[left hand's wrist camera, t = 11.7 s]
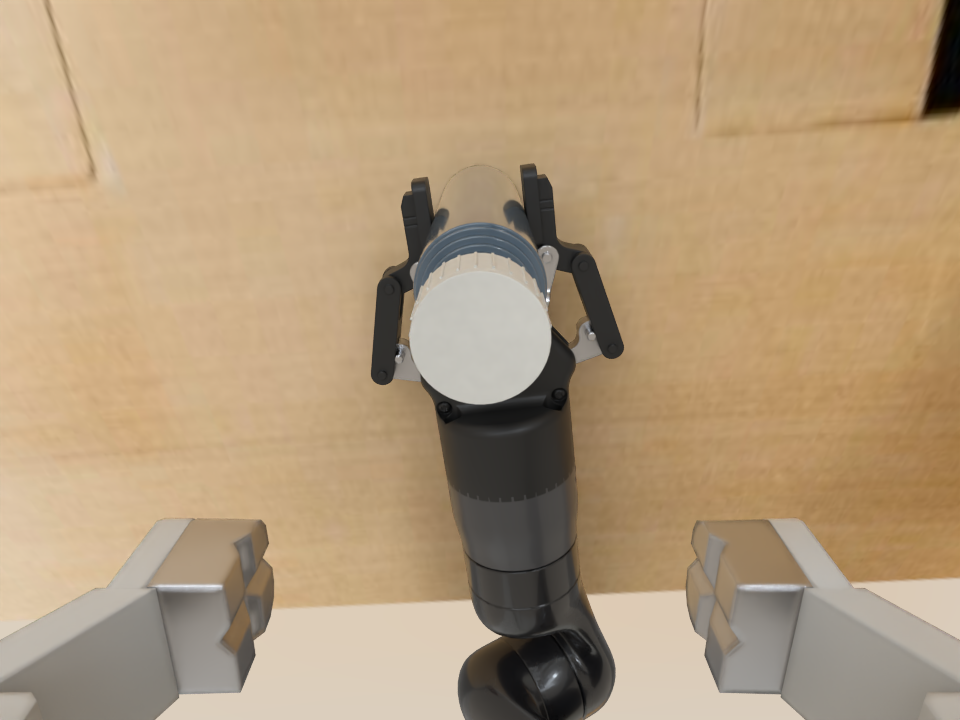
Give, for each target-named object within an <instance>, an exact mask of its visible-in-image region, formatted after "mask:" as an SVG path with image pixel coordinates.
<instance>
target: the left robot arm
mask: <svg viewBox="0 0 960 720" xmlns="http://www.w3.org/2000/svg"><path fill="white" fill-rule="evenodd" d="M268 544H269V541H268V535H267V530H266V525H265V524H264V523H263V521H262V520H250V519H202V518H197V519H193V518H164V519H162V520H159V521H157V522H156V523H155V524H154V525H153V527H152V528H151V529H150V531H149V532H148V533H147V535H146V536H145V537H144V539H143V540H142V541H141V543H140V544H139V545H138V546H137V548H136V549H135V550H134V552H133V553H132V554H131V556H130V557H129V558H128V560H127V561H126V562H125V564H124V565H123V566H122V568H121V569H120V570H119V572H118V573H117V574H116V576H115V577H114V578H113V580H112V581H111V582H110V584H109V585H108V586H107V587H106V588H95V589H93V590H91V591H89V592H87V593H86V594H84V595H82V596H80V597H78V598H76V599H75V600H73V601H71V602H69V603H67V604H65V605H64V606H62V607H60V608H58V609H56V610H54V611H53V612H51V613H49V614H47V615H45V616H43V617H42V618H40V619H38V620H36V621H34V622H32V623H30V624H29V625H27V626H25V627H23V628H21V629H20V630H18V631H16V632H14V633H12V634H10V635H9V636H7V637H5V638H3V639H1V640H0V720H155V719H156V718H157V717H158V716H160V715H161V714H162V713H163V712H164V711H165V710H166V709H167V708H168V707H169V706H170V705H172V704H173V703H174V702H175V701H176V700H177V699H178V698H179V694H203V693H238V692H241V690H242V688H243V685H244V683H245V680H246V678H247V675H248V673H249V670H250V668H251V665H252V663H253V660H254V658H255V649H254V641H253V640H255V639H256V638H257V637H259V636H260V635H261V634H263V633H264V632H265V630H266V627H267V625H268V622H269V619H270V616H271V611H272V605H273V599H274V578H273V570H272V567H271V566H270V565H269V564H268V563H267V562H266V561H265V560H264V559H263V555H264V553H265V551H266V549H267V547H268ZM691 544H692V547H693V549H694V551H695V553H696V555H697V559H696V560H695V561H694V562H693V563H692V564H691V565H690V566H689V567H688V570H687V580H686V597H687V607H688V611H689V615H690V619H691V622H692V625H693V627H694V630H695V632H696V633H697V634H699V635H700V636H701V637H703V638H704V639H705V640H707V642H706V648H705V658H706V660H707V663H708V665H709V668H710V670H711V673H712V675H713V678H714V680H715V682H716V685H717V687H718V690H719V692H720V693H755V694H781V698H782V699H783V700H784V701H786V702H787V703H788V704H789V705H790V706H791V707H792V708H793V709H794V710H795V711H796V712H798V713H799V714H800V715H801V716H802V717H803V718H804V719H805V720H960V640H959V639H957V638H955V637H953V636H951V635H949V634H948V633H946V632H944V631H942V630H940V629H938V628H937V627H935V626H933V625H931V624H929V623H927V622H926V621H924V620H922V619H920V618H918V617H916V616H915V615H913V614H911V613H909V612H907V611H905V610H904V609H902V608H900V607H898V606H896V605H894V604H893V603H891V602H889V601H887V600H885V599H883V598H882V597H880V596H878V595H876V594H874V593H872V592H870V591H869V590H867V589H865V588H853V586H852V585H851V584H850V582H849V581H848V580H847V578H846V577H845V576H844V574H843V573H842V572H841V570H840V569H839V568H838V566H837V565H836V564H835V563H834V561H833V560H832V559H831V557H830V556H829V555H828V553H827V552H826V551H825V549H824V548H823V547H822V545H821V544H820V543H819V541H818V540H817V539H816V538H815V536H814V535H813V534H812V532H811V531H810V530H809V528H808V527H807V526H806V524H805V523H804V522H803V521H801V520H800V519H798V518H775V519H763V520H703V521H696V524H695V526H694V529H693V534H692V541H691Z"/></svg>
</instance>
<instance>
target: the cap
mask: <svg viewBox="0 0 960 720" xmlns="http://www.w3.org/2000/svg"><path fill="white" fill-rule="evenodd" d="M410 320H412V322H411V326H410V332H409V339H410V349H411V354H412V357H413V360H414V363H415V365H416V367H417V369H418V370H419V372H420V373H421V375H422V376H423V378H424V379H425V380H426V381H427V382H428V383H429V384H430V385H431V386H432V387H433V388H434V389H436V390H437V391H439V392H440V393H441V394H443V395H445V396H447V397H449V398H451V399H454V400H456V401H460V402H464V403H468V404H492V403H497V402H501V401H504V400H507V399H510V398H512V397H514V396H516V395H518V394H519V393H521V392H522V391H524V390H525V389H526V388H528V387H529V386H530V385H531V384H532V383H533V382H534V381H535V380H536V378H537V377H538V376H539V375H540V373H541V372H542V370H543V368H544V366H545V364H546V362H547V359H548V356H549V353H550V348H551V328H552V325H551V321H550V318H549V315H548V308H547V305H546V302H545V298H544V295H543V292H541V293H540V290H539V288H538V286H537V282H536V279H535V278H532V277H531V276H530V275H529V274H528V273H527V272H526V271H525V268H524V267H523V266H522V267H521V266H519V265H518V264H517V263H515V262H513V261H511V259H510V258H508V259H507V258H505V257H502V256H499V255H495V254H494V253H491V254H489V253H477V252H474V253H472V254H466V255H462V256H460V255H458V256H457V257H456V258H454V259H451V260H449V261H448V262H446V263H445V262H443V263H442V265H441V266H440V267H439V268H437V269H436V270H435V271H434V272H433V273H432V272H431V273H430V275H429V278H428V279H427V281H426V282H425V284H424V286H421V287H420V291H419V294H418V297H417V301H415V304H414V307H413V311H412V314H411V317H410Z"/></svg>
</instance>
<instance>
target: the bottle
mask: <svg viewBox="0 0 960 720" xmlns="http://www.w3.org/2000/svg"><path fill="white" fill-rule="evenodd" d="M474 252H477V253H489V254H491V253H494V254H495V255H499V256H502V257H505V258H507V259H508V258H510V259H511V261H513V262H515V263H517V264H518V265H519V266H521V267H522V266H523V267H524V268H525V271H526V272H527V273H528V274H529V275H530V276H531V277H532V278H535V279H536V282H537V286H538V288H539V290H540V293H541V292H543V295H544V298H545V302H546V298H547V287H548V285H547V276H546V272H545V268H544V265H543V262H542V259H541V256H540V254H539V251H538V248H537V245H536V242H535V239H534V237H533V234H532V231H531V228H530V225H529V222H528V220H527V217H526V214H525V211H524V208H523V205H522V203H521V200H520V197H519V194H518V191H517V189H516V187H515V185H514V183H513V182H512V181H511V179H510V178H509V177H508V176H507V175H506V174H504V173H503V172H502V171H500V170H498V169H496V168H494V167H490V166H485V165H476V166H471V167H467V168H465V169H463V170H461V171H459V172H458V173H456V174H455V175H454V176H453V177H452V178H451V179H450V180H449V182H448V183H447V185H446V187H445V188H444V191H443V194H442V196H441V199H440V202H439V205H438V208H437V211H436V213H435V216H434V219H433V222H432V225H431V228H430V230H429V233H428V236H427V239H426V242H425V244H424V247H423V250H422V253H421V256H420V259H419V261H418V264H417V267H416V271H415V275H414V282H413V292H414V299H415V301H417V297H418V294H419V291H420V287H421V286H424V284H425V282H426V281H427V279H428V278H429V275H430V273H431V272H432V273H433V272H434V271H435V270H436V269H437V268H439V267H440V266H441V265H442V263H443V262H445V263H446V262H448V261H449V260H451V259H454V258H456V257H457V256H458V255H460V256H462V255H466V254H472V253H474Z"/></svg>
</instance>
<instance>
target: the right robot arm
mask: <svg viewBox="0 0 960 720" xmlns="http://www.w3.org/2000/svg"><path fill="white" fill-rule="evenodd" d="M520 171H521V181H522V191H523V201H524V211H525V214H526V217H527V220H528V222H529V225H530V228H531V231H532V234H533V237H534V239H535V242H536V245H537V248H538V251H539V254H540V256H541V259H542V262H543V265H544V268H545V272H546V276H547V285H548V287H547V298H546V305H547V308H548V305H549V301H550V292H551V287H552V283H553V280H554V276H555V272H556V270H560V271H565V272H569V273H572V275H573V278H574V281H575V284H576V286H577V289H578V292H579V295H580V298H581V300H582V303H583V306H584V309H585V312H586V314H587V316H585V317H582V318H581V319H580V320H579V321H578V322H577V325H576V329H577V336H576V338H575V339H574V340H573V341H572V342H571V343H568V342H567V341H566V340H565V339H564V338H563V337H562V336H561V335H560V333H559V332H558V331H557V330H556V329H555V328H554V327H553V326H552V328H551V348H550V353H549V356H548V359H547V362H546V364H545V366H544V368H543V370H542V372H541V373H540V375H539V376H538V377H537V378H536V380H535V381H534V382H533V383H532V384H531V385H530V386H529V387H528V388H526V389H525V390H524V391H522V392H521V393H519V394H518V395H516V396H514V397H512V398H510V399H507V400H504V401H501V402H497V403H492V404H468V403H464V402H460V401H456V400H454V399H451V398H449V397H447V396H445V395H443V394H441V393H440V392H439V391H437V390H436V389H434V388H433V387H432V386H431V385H430V384H429V383H428V382H427V381H426V380H425V379H424V378H423V376H422V375H421V373H420V372H419V370H418V369H417V367H416V365H415V363H414V360H413V357H412V354H411V349H410V341H408V340H407V339H403V338H400V337H401V326H402V314H403V303H404V293H405V292H407V291H409V290H411V289H413V282H414V275H415V271H416V267H417V264H418V261H419V259H420V256H421V253H422V250H423V247H424V244H425V242H426V239H427V236H428V233H429V230H430V228H431V225H432V222H433V219H434V213H433V206H432V200H431V193H430V187H429V181H428V177H423V178H416V179H413V181H412V182H411V188H412V191H409V192H406V193H405V194H404V196H403V200H402V204H401V210H402V216H403V221H404V227H405V233H406V239H407V245H408V251H409V258H408V259H407V260H406V261H405V262H403V263H401V264H399V265H397V266H391V267H389V268H387V269H386V270H385V272H384V274H383V277H382V279H381V280H380V282H379V284H378V287H377V299H376V313H375V326H374V340H373V353H372V367H371V377H372V379H373V381H374V382H375V383H377V384H380V385H386V384H388V383H390V382H391V381H392V379H402V380H410V381H419V382H421V383H422V385H423V387H424V388H425V390H426V391H427V392H428V393H429V394H430V396H431V397H432V399H433V402H434V405H435V410H436V416H437V422H438V428H439V434H440V440H441V446H442V452H443V457H444V463H445V469H446V475H447V481H448V487H449V493H450V499H451V505H452V510H453V515H454V519H455V522H456V525H457V528H458V531H459V534H460V537H461V540H462V545H463V551H464V557H465V563H466V569H467V575H468V581H469V588H470V593H471V598H472V602H473V605H474V609H475V611H476V613H477V615H478V617H479V619H480V620H481V621H482V623H483V624H484V625H485V626H486V627H487V628H488V629H490V630H491V631H493V632H494V633H496V634H499V635H501V636H502V637H500V638H498V639H497V640H494V641H492V642H491V643H489V644H487V645H485V646H483V647H481V648H480V649H478V650H476V651H475V652H474V653H473V654H471V655H470V656H469V657H468V658H467V659H466V661H465V662H464V664H463V666H462V668H461V670H460V674H459V679H458V697H459V703H460V707H461V710H462V713H463V716H464V718H465V720H585V719H586V718H588V717H590V716H591V715H593V714H594V713H596V712H597V711H598V710H600V709H601V708H602V707H603V706H604V704H605V703H606V702H607V700H608V699H609V697H610V694H611V692H612V690H613V686H614V682H615V664H614V659H613V656H612V654H611V651H610V649H609V647H608V645H607V643H606V641H605V639H604V636H603V634H602V632H601V630H600V628H599V626H598V624H597V622H596V619H595V617H594V614H593V612H592V609H591V606H590V604H589V601H588V598H587V595H586V593H585V590H584V587H583V584H582V581H581V577H580V565H579V554H578V543H577V533H576V531H577V529H576V521H577V508H578V493H577V482H576V467H575V458H574V447H573V435H572V424H571V412H570V401H569V382H570V379H571V376H572V374H573V372H574V370H575V367H576V363H579V362H582V361H585V360H587V359H590V358H593V357H596V356H599V355H601V354H603V355H604V356H605V357H606V358H609V359H614V358H617V357H619V356H620V355H621V354H622V352H623V350H624V345H623V342H622V339H621V336H620V333H619V330H618V327H617V324H616V321H615V318H614V315H613V312H612V310H611V307H610V304H609V301H608V298H607V295H606V292H605V289H604V286H603V283H602V280H601V277H600V275H599V272H598V269H597V266H596V263H595V260H594V259H593V257H592V255H591V254H590V252H589V251H588V249H587V248H586V247H585V246H584V245H582V244H570V243H566V242H563V241H560V240H559V239H558V238H557V236H556V226H555V214H554V202H553V191H552V186H551V184H550V182H549V180H548V178H547V177H546V175H545V174H542V175H537V170H536V166H535V164H534V163H533V164H525V165H520Z"/></svg>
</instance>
